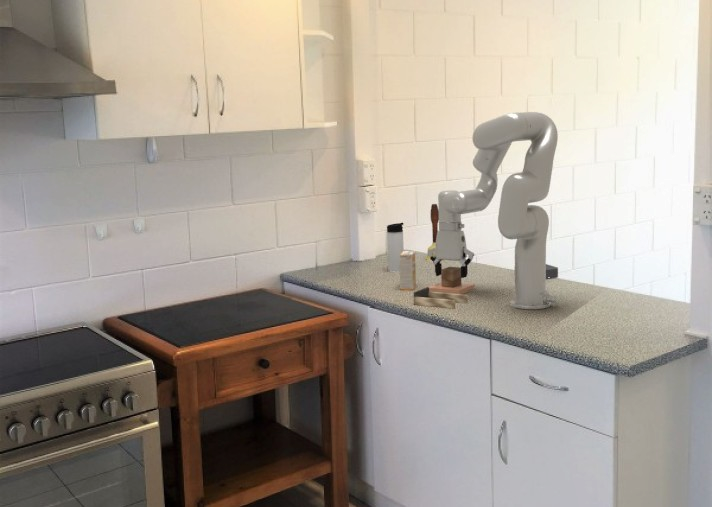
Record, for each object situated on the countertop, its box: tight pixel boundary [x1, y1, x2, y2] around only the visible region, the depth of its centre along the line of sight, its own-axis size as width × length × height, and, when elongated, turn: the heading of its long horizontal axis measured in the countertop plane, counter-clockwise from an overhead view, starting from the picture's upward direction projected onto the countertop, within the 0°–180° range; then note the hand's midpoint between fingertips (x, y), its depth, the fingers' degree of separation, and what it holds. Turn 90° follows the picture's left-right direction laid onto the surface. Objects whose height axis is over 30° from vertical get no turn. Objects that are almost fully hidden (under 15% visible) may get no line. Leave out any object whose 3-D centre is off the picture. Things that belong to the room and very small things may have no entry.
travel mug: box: [386, 222, 405, 273], centre depth 312 cm, size 6×7×20 cm
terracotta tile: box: [428, 282, 476, 295], centre depth 277 cm, size 12×12×2 cm
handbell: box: [425, 203, 445, 262], centre depth 330 cm, size 12×12×25 cm
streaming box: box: [546, 263, 559, 280], centre depth 292 cm, size 13×13×5 cm
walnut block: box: [440, 266, 463, 288], centre depth 276 cm, size 4×6×6 cm
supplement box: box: [399, 250, 417, 291], centre depth 283 cm, size 8×5×13 cm, turn 168°
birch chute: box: [413, 286, 468, 309], centre depth 258 cm, size 15×9×4 cm, turn 56°
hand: (451, 276), depth 276 cm, fingers open, 9 cm apart
